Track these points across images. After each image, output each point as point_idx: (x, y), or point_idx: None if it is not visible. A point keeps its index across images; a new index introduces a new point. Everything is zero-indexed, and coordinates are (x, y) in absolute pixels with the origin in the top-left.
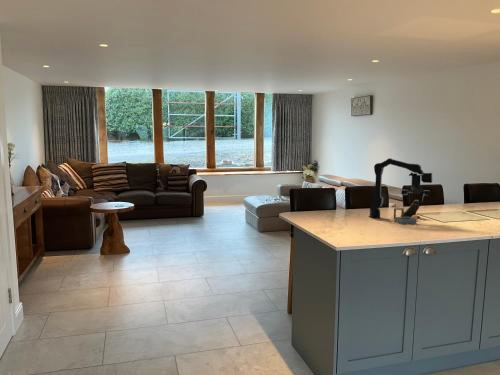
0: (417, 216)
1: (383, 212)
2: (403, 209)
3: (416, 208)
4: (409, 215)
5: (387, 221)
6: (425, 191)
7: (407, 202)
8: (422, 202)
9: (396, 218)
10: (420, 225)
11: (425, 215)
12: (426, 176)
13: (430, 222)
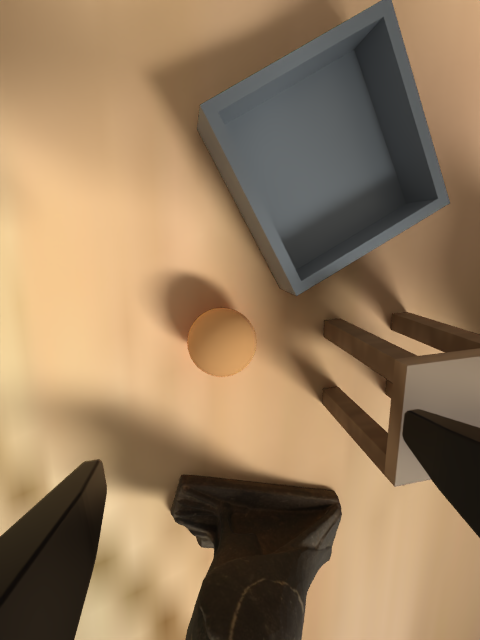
0: (194, 503)
1: (442, 588)
2: (404, 360)
3: (216, 578)
4: (268, 512)
5: (474, 184)
6: None
7: (462, 422)
8: (62, 503)
9: (430, 162)
10: (139, 14)
11: (128, 636)
12: None
13: (37, 291)
